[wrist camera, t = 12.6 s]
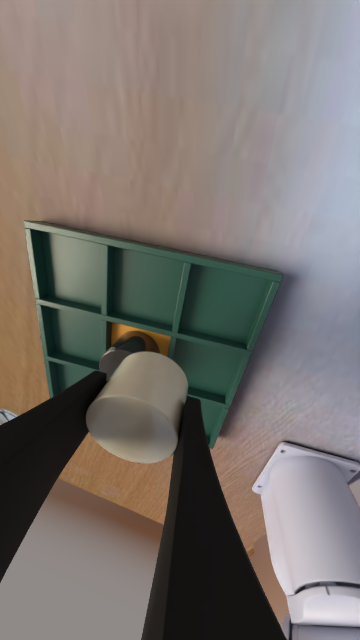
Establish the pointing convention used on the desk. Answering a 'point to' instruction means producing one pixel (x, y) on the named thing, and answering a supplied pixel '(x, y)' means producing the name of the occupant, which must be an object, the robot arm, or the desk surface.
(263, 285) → the board
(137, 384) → the cream stone
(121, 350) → the dark grey cylinder
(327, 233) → the desk surface
